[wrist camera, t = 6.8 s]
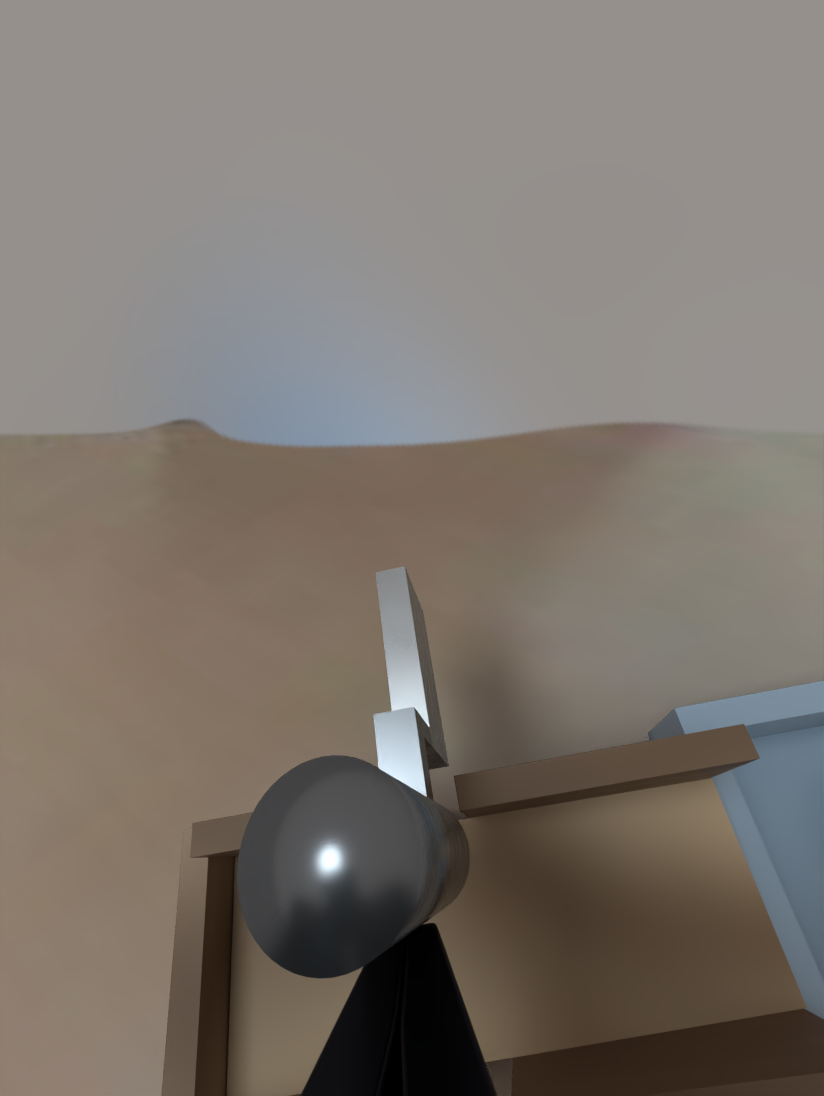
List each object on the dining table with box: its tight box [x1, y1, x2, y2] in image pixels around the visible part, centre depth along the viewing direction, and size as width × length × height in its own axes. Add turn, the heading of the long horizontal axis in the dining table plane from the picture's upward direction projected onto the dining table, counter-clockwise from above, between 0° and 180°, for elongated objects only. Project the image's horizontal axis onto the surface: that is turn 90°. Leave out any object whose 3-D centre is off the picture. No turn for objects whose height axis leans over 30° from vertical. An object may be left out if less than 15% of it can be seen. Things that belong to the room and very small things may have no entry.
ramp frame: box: [162, 724, 824, 1096], centre depth 13 cm, size 6×13×8 cm, turn 98°
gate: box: [237, 566, 470, 979], centre depth 10 cm, size 8×2×9 cm, turn 8°
